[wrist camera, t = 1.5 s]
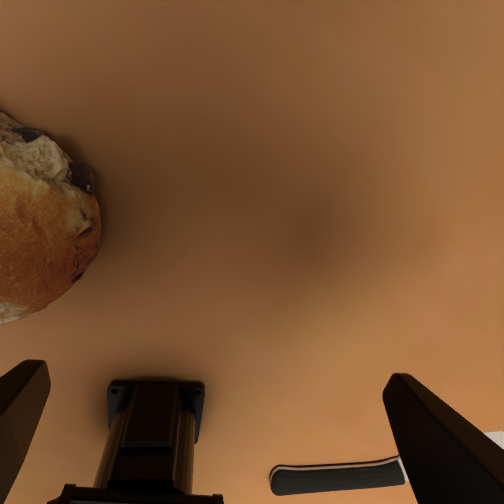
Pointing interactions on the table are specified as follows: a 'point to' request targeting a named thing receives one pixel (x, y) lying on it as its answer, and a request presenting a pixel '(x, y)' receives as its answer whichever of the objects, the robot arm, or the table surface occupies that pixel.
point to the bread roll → (42, 220)
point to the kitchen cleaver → (345, 475)
